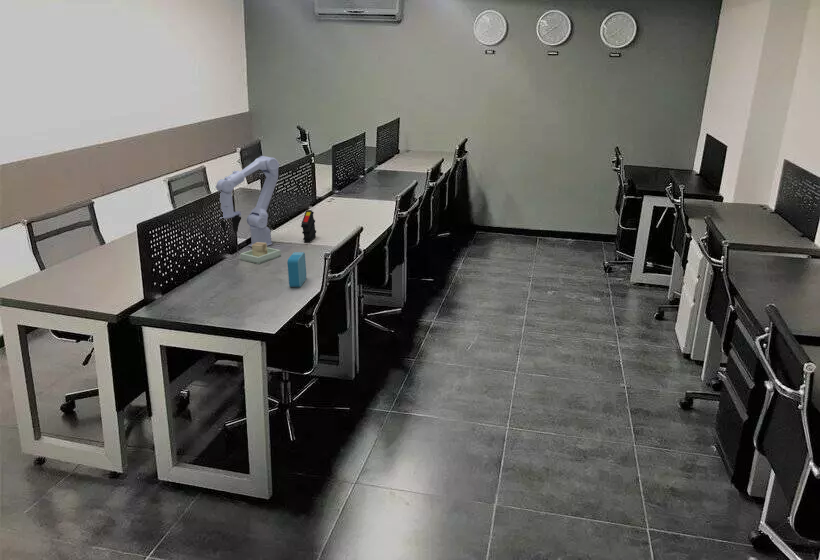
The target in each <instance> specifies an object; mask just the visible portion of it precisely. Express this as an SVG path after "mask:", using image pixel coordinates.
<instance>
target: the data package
mask: <svg viewBox="0 0 820 560" xmlns="http://www.w3.org/2000/svg"><path fill="white" fill-rule="evenodd" d="M306 264H307V263H306V253H305V252H303V251H293V253H292V254H291V255H290V256H289V258H287V275H288V276H287V277H288V285H289V287H290V288H301V287H302V286H303V284H304V283H305V281H306V280H307V265H306Z"/></svg>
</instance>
